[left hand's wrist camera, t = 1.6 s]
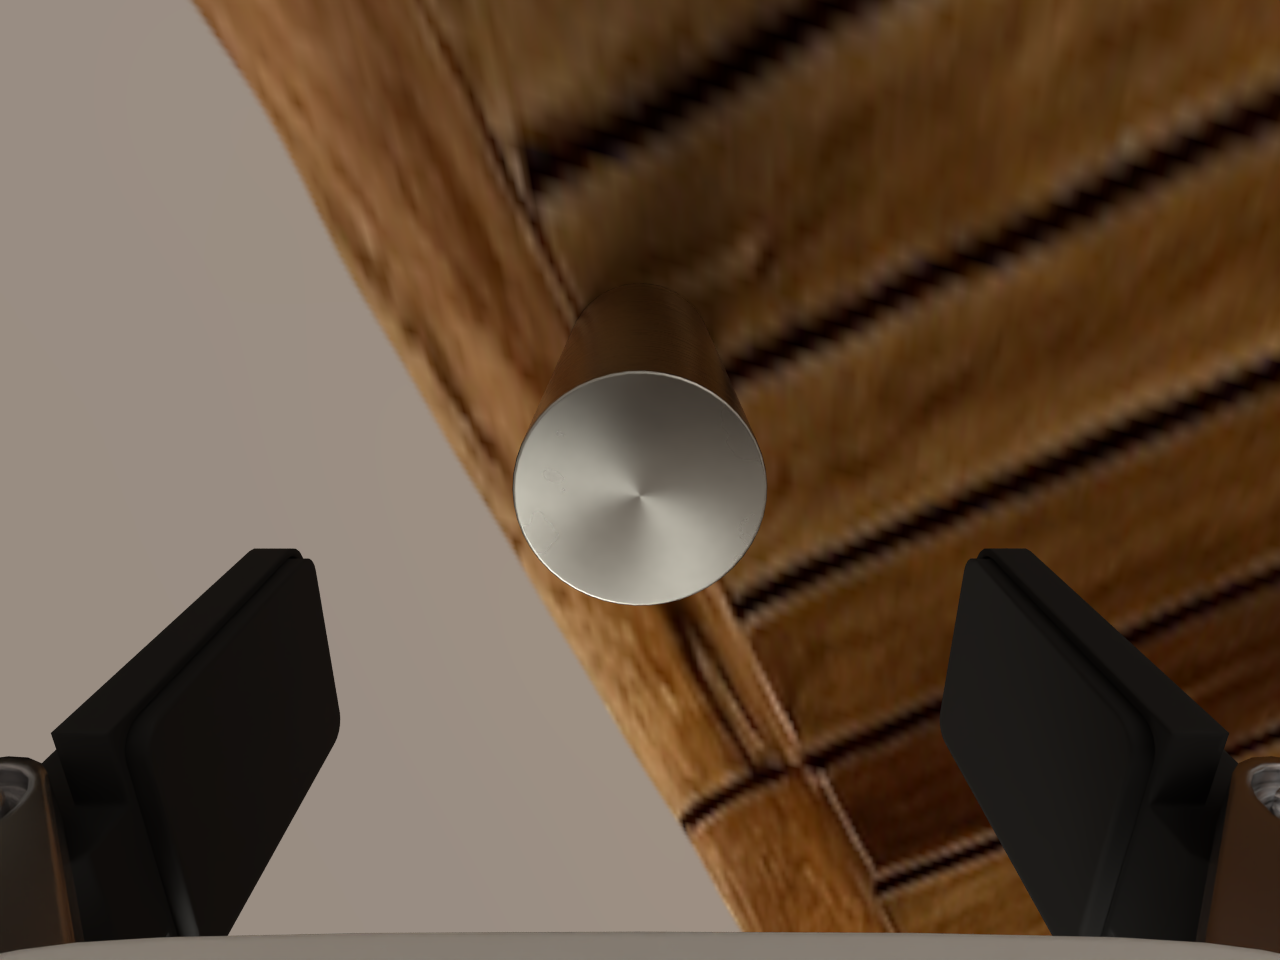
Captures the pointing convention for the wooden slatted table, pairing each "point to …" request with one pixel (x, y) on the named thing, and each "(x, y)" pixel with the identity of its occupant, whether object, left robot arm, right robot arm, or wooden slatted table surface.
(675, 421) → the tin
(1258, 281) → the wooden slatted table surface
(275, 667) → the left robot arm
